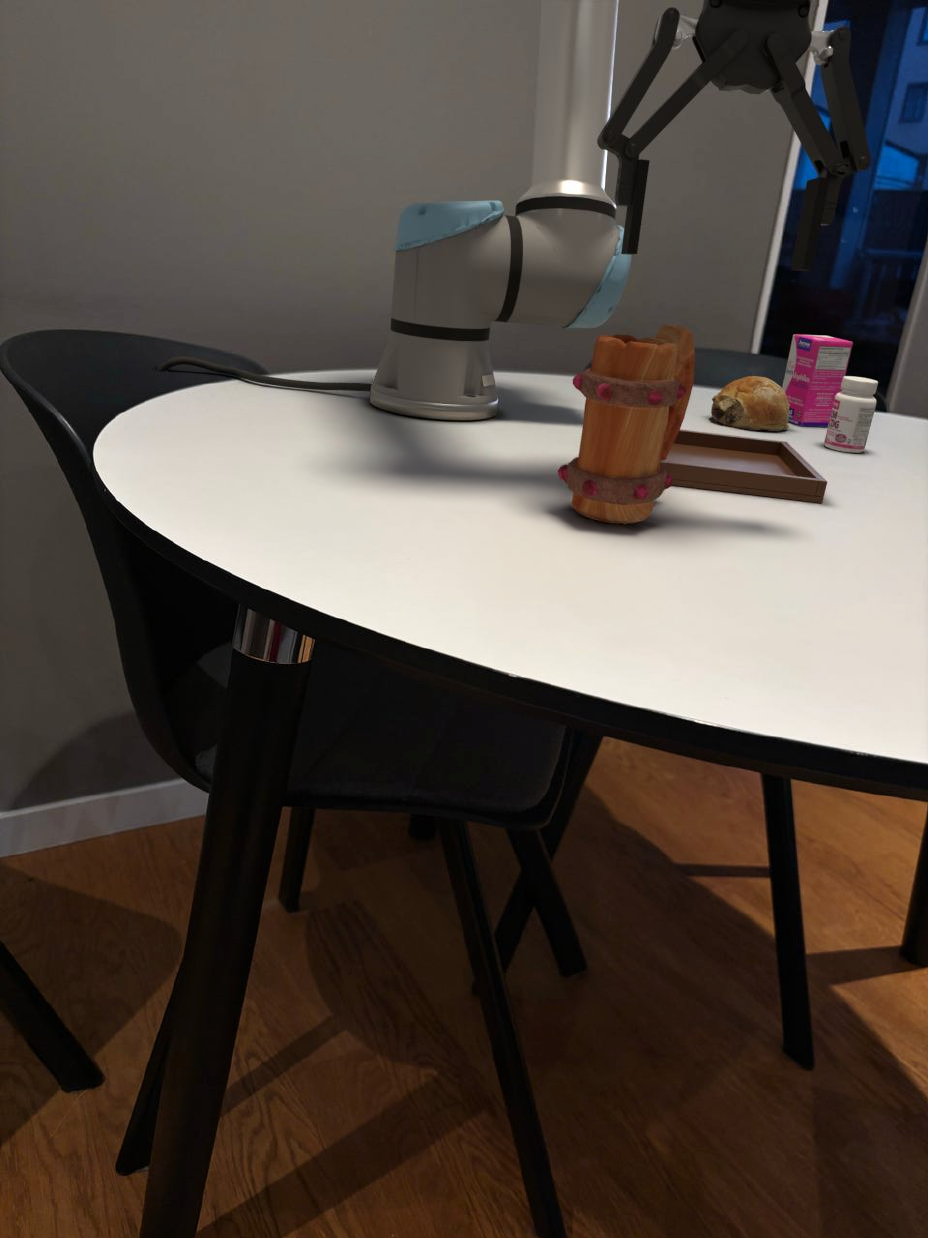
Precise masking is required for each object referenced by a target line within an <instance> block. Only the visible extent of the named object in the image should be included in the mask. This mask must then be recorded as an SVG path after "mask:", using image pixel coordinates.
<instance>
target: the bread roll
mask: <svg viewBox="0 0 928 1238" xmlns="http://www.w3.org/2000/svg"><path fill="white" fill-rule="evenodd" d="M711 401H712V405H711V409H710V414H711V418H712V419H713V420H714V421H716V422H717V423H719V424H721V425H724V426H729V427H733V428H736V429H744V430H750V431H754V432H755V431H756V432H759V431H763V430H764V431H767V432H781V431H787V430H788V429H789V427H790V425H789V421H788V418H789V406H790V404H789V402H788V400H787V397H786V394H785V392H784V391H783V389H782V386H780V385H779V384H778V383H777V382H775V381H773V379H770V378H768V377H765V376H757V375H752V376H750V375H749V376H744V377H741V378H739V379H735V380H733V381H731V382H729V383H728V384H726V385H725V386H724V387H723V388H722V389H721V390H720V391H719V392H717V394H715V395H713V397H712V398H711Z"/></svg>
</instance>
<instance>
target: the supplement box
mask: <svg viewBox="0 0 928 1238" xmlns="http://www.w3.org/2000/svg"><path fill="white" fill-rule="evenodd" d="M853 344H854V342H853V341H850V340H847V339H842V338H839V337H838V338H837V337H835V336H834V337H833V336H830V335H818V334H798V333H797V334H793V335H792V339H791V344H790V349H789V353H788V358H787V362H786V368H785V373H784V377H783V382H782V386H781V388H782V389H783V391H784V392H785V394H786V397H787V400H788V402H789V404H790V406H789V418H788V422H789V423H792V424H796V425H797V426H800V427H816V428H817V427H818V428H819V427H820V428H828V424H829V420H830V416H831V412H832V408H833V403H834V399H835V396H836V394H837V393H839V392H841V391H842V389H841V383H842V380H843V377H844V376H847V375H846V374H847V369H848V366H849V361H850V357H851V353H852V348H853Z"/></svg>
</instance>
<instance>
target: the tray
mask: <svg viewBox="0 0 928 1238" xmlns="http://www.w3.org/2000/svg"><path fill="white" fill-rule="evenodd" d="M660 464H661V465H662V466H663V467H664V468H665V469H666V473H669V474H671V476H672V477H673V478H674V479H673V485H672V486H677V487H684V488H685V487H686V488H693V489H702V490H708V491H709V490H710V491H717V492H718V491H719V492H727V493H734V494H735V493H736V494H743V495H751V496H758V497H759V496H761V497H767V498H776V499H783V500H793V501H799V502H800V501H801V502H808V503H819V504H823V502H824V497H825V494H826V491H827V486H828V481H827V479H826V478H824V476H823V475H821V474H820V472H818V471H817V470H816V469H815V468H814V467H813V466H812V465H811V464H810V463H809V462H808V461H807V460H806V459H805V458H804V457H803V456H802V455H801V454H800V453H799V452H798V451H797V450H796V449H795V448H794V447H792V445H791V444H789V442H787V441H782V440H775V439H765V438H759V437H750V436H749V437H748V436H742V435H741V436H740V435H731V434H722V433H715V432H705V431H697V430H690V429H689V430H688V429H681V428H680V430H679V432H678V434H677V437H676V439H675V441H674V443H673V445H672V447H671V449H670V451H669V453H668V456H667V458H666V459H665V460H663V461H660Z"/></svg>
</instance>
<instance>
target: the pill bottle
mask: <svg viewBox="0 0 928 1238" xmlns="http://www.w3.org/2000/svg"><path fill="white" fill-rule="evenodd" d="M878 385H879V382H878V380H875V379H872V378H867V377H862V376H852V375H845V376H844V377H843V380H842V383H841V389H842V391H841V392H839V393H837V394H836V396H835V399H834V403H833V408H832V412H831V416H830V420H829V424H828V427H827V429H826V433H825V437H824V442H823V445H824V446H825V447H826V448H827V449H831V450H833V451H838V452H843V453H851V454H852V453H854V454H861V453H863V452H864V451H865V450H866V449H865V448H866V446H867V441H868V438H869V434H870V429H871V426H872V422H873V418H874V415H875V410H876V407H877V399H876V398H875V397H874V395H875V394H876V392H877V388H878Z"/></svg>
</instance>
